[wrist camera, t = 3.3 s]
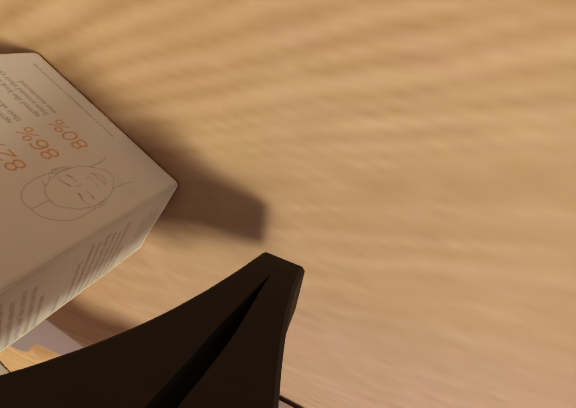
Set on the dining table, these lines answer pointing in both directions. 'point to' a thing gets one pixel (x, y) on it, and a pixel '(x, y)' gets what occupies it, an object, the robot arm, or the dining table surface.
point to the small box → (64, 194)
